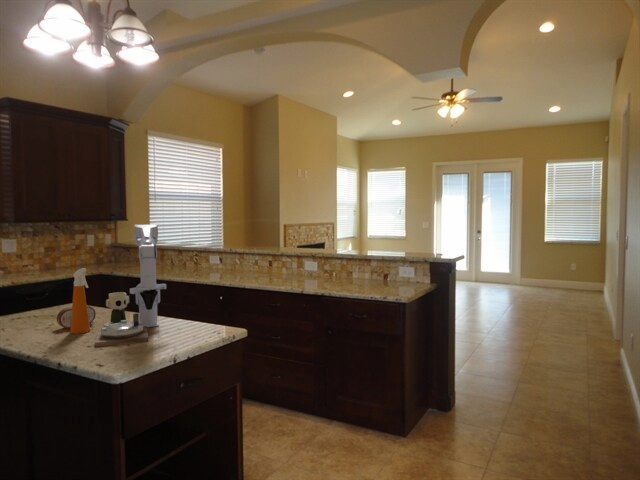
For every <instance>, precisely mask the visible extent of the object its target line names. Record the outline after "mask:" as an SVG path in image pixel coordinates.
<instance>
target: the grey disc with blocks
mask: <svg viewBox="0 0 640 480" xmlns="http://www.w3.org/2000/svg"><path fill="white" fill-rule="evenodd" d="M132 317H133V318H132V321H128V319H126V320H121V323H111V322H107V323H104V324H103V326H102V327H101V328H100V330H101V336H102V337H104V338H127V337H132V336H136V335H139V334H141V333H142V332H143V324H142V322H141V321H139V312H136V313H132Z"/></svg>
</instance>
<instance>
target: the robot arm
mask: <svg viewBox="0 0 640 480" xmlns="http://www.w3.org/2000/svg"><path fill="white" fill-rule="evenodd" d="M133 236H134V244H135V246H137V247H138V259H139V265H140V266H139V269H140V283H138V284H137V285H136V287H131V288H129V295H130V294H131V295H135V304H136V305H138V313H139V321H141V322H142V324H143V326H147V328H151V327H159V326H160V325H159V320H158V304H160V302H161V290H167V284H166V283H157V266H156V265H157V264H156V263H157V262H156V261H157V260H156V259H157V258H158V252H157V251H158V250H157V244H158V240H159V239H158V238H159V226H158V225H157V224H134V225H133Z"/></svg>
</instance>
